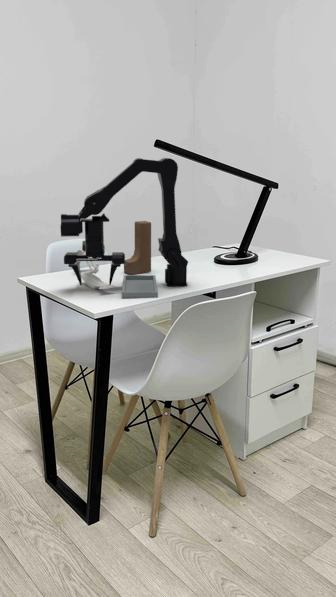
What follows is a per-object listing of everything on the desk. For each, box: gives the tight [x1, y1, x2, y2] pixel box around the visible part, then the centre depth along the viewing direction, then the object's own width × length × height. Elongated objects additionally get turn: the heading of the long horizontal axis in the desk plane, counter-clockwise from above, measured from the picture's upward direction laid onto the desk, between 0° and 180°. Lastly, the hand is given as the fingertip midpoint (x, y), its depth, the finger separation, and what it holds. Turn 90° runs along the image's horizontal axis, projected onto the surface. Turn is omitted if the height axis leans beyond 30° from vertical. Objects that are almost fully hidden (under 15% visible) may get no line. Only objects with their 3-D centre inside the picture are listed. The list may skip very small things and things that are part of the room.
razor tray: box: [121, 274, 159, 300], centre depth 176 cm, size 11×23×2 cm, turn 3°
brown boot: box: [123, 220, 152, 275], centre depth 198 cm, size 9×4×18 cm, turn 123°
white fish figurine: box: [80, 271, 116, 290], centre depth 177 cm, size 6×18×4 cm, turn 32°
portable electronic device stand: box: [76, 245, 100, 274], centre depth 201 cm, size 9×8×8 cm
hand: (95, 284), depth 177 cm, fingers open, 9 cm apart
